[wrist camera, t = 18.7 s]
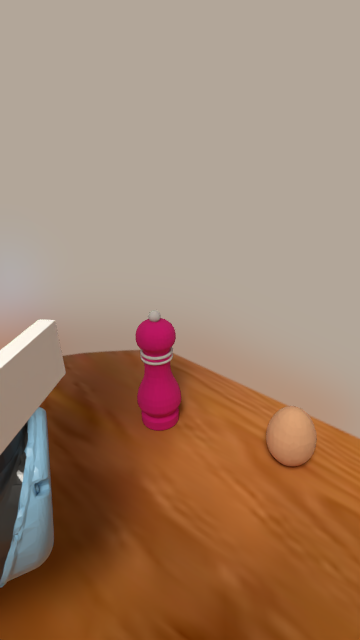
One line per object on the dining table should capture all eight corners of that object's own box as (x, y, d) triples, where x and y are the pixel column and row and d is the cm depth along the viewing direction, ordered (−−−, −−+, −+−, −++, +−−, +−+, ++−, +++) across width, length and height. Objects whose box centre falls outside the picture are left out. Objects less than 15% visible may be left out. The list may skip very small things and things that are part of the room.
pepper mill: (185, 406, 59) (183, 302, 51) (176, 436, 53) (172, 323, 44) (146, 401, 61) (138, 299, 52) (133, 429, 54) (121, 319, 46)
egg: (255, 461, 48) (260, 412, 44) (276, 435, 53) (282, 388, 49) (300, 487, 44) (310, 435, 40) (318, 457, 49) (329, 407, 45)
